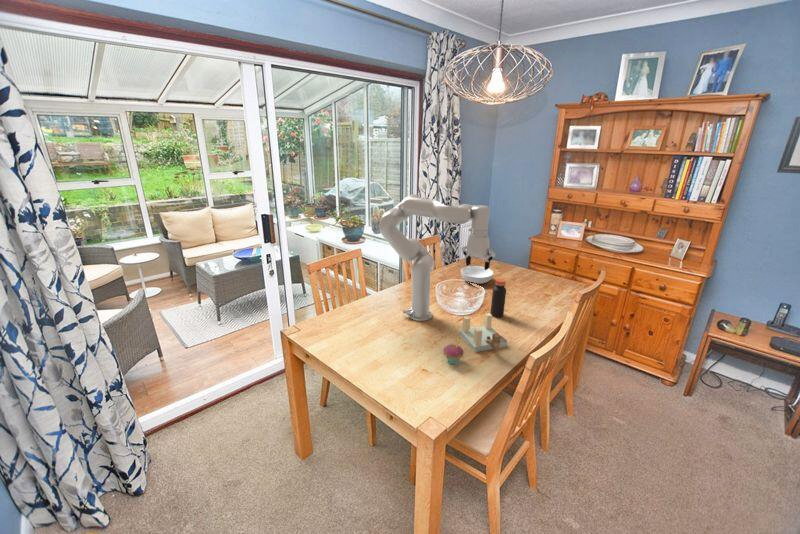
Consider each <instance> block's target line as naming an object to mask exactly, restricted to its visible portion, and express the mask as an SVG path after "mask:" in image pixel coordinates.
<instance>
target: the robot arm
mask: <svg viewBox="0 0 800 534" xmlns="http://www.w3.org/2000/svg"><path fill="white" fill-rule="evenodd" d="M411 216H418V217H425V218H431V219H435V220H437V221H438V220H439V221H441V222H445V223H450V224H458V225H463V224H466V223H468V222H469V221H470V220H471V227H470V228H469V229H468V231H469V232H470V233H469V235H468V239H467V244H466V245H465V246H462V247H461V250H462V254H463V256H464V257H465V264H466V265H465V267H468V266H471V263H472V261H471V260H472V257H476V258H480V259H484V260H485V261H484V267H485V270H487V269H490V266H491V265H490V264H491V261H492V260H493V259H494V258H495V256H496V255H497V253H496V252H495V251H493V250H492V249H491V247H490V244H491V243H490V237H489V235H488V233H489V221H490V219H489V217H490V207H489V206H488V205H473V204H469V203H462V204H460V205H459V206H451V205H448V204H447V205H446V204H443V203H441V202H439V200H437V199H432V198H425V197H420V195H418V194H415V193H412V194H409V195H407V196H406V197H404V198H403V199H402V201H401V202H399V203H398V204H397V205H395V206H394V207H392V208H391V209H389V210H386V212H384V213H383V214H382V216H381V218H380V220H379V223H378V224H379V225H378V226H379V232H380V234H381V236H382V237H383V238H384V239H385V240H386V241H387V243H388V244H389V245H390V246H391V247H392V249H393V250H394V251H395V252H396V253H397V254H398V256H399V257H400V259H402V260H403V261H404V262H411V261H413V263H412V266H411V269H410V276H411V305H410V306H409V308H408V309H402V314H403V315H404V314H405V315H406V316H408V318H410V319H411V320H413V321H416V322H417V321H418V322H426V321H428V320H431V319H432V317H433V313H432V311H430V305H431V303H430V300H431V272H432V270H433V268H434V266H435V260H434V257H433V256H432V255H431V253H429V251H428V250H427V249H426V248H425V247H424V245H423V244H422V243H421V242H420V240H417V239H415V238H408V237H407V236H406V235H405V234H404V233H403V232H402V231H401V230H400V229H399V228H398V226H399V225H400V224H401V223H403V222H404V221H406V219H408V218H410V217H411Z"/></svg>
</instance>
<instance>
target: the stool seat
mask: <svg viewBox="0 0 800 534" xmlns="http://www.w3.org/2000/svg"><path fill="white" fill-rule="evenodd" d="M483 319H484V321H483V325H480V326H473V327H470V325H471V317H470V316H469V315H465V316H463V317H462V324H461V325H462V327H461V328H459V330H458V331H459V332H458V335H459V337H461V338H462V339H463V340H464V341H465V343H466V344H467V345H468V346H469V348H470V349H471V350H472V352H474V353H476V352H477V353H478V352H483V351H490V350H494V349H493V348H492V347H491V345H490V344H489V343H488V342H487V341H486V338H487V336H490V338H491V339H492V335H493V334H495V333H498V332H497V331H496V329H494V328H493V327H492V321H493V316H492V315H491V314H490V312H488V313H484V318H483ZM500 336H501V339H500V347H499V349H501V348H506V347H507V346H508V345H507V344H508V341H507V339H506V338H505V337H504V336H502V335H500Z"/></svg>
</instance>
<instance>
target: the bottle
mask: <svg viewBox="0 0 800 534" xmlns="http://www.w3.org/2000/svg"><path fill="white" fill-rule="evenodd" d="M494 284H495V286H493V287H492V293H491V303H490V311H489V313H490V314H491V315H492V318H503V316H504V312H505V304H506V296H507V289H506V279H504V278H496V279H495V283H494Z"/></svg>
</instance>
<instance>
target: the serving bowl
mask: <svg viewBox="0 0 800 534" xmlns="http://www.w3.org/2000/svg"><path fill="white" fill-rule="evenodd" d="M460 274H461V277H462V278H463V280H465V281H466V282H468V281H470V282H469V283H471V282H474V283H473V284H476V283H477V285H480V284H481V285H482V284H485V283H488V282H490V280H492V278H493V277H494V271H493V270H492V269H491V268H488V269H487V270H485V266H480V265H479V266H478V265H468V266H464V267H462V268H461V270H460Z"/></svg>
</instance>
